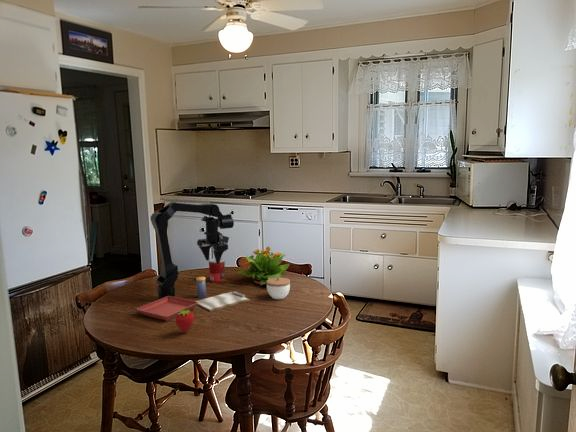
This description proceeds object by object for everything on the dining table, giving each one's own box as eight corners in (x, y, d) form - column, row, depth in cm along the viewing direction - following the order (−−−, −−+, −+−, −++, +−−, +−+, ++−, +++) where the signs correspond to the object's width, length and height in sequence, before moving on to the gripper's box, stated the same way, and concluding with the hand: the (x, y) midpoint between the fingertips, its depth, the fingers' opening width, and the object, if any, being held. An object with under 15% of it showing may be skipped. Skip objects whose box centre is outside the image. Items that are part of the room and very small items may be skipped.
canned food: (224, 282, 224) (223, 261, 222) (208, 283, 224) (207, 261, 222) (226, 278, 231) (225, 257, 230) (211, 278, 232) (210, 258, 230)
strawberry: (199, 331, 164) (197, 305, 163) (183, 338, 158) (182, 311, 156) (187, 327, 167) (186, 302, 166) (172, 334, 161) (170, 308, 160)
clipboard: (210, 311, 184) (210, 308, 183) (192, 302, 195) (192, 299, 195) (249, 300, 196) (249, 296, 196) (231, 292, 208) (230, 289, 208)
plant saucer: (167, 324, 172) (166, 316, 172) (135, 316, 182) (135, 308, 181) (199, 309, 188) (198, 302, 187) (168, 302, 197) (168, 295, 196)
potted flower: (230, 286, 218) (228, 251, 215) (248, 273, 240) (247, 241, 238) (278, 290, 210) (277, 254, 208) (292, 276, 233) (291, 243, 230)
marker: (200, 299, 200) (199, 279, 199) (195, 296, 203) (194, 277, 202) (208, 296, 203) (207, 277, 201) (203, 294, 206) (202, 276, 204)
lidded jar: (262, 299, 198) (261, 278, 197) (274, 292, 207) (273, 272, 206) (283, 302, 193) (283, 281, 192) (294, 295, 202) (294, 275, 201)
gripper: (237, 230, 209) (237, 262, 211) (215, 225, 222) (216, 256, 225) (217, 233, 201) (217, 266, 203) (196, 228, 215) (197, 259, 217)
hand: (212, 262), depth 212 cm, fingers open, 9 cm apart
